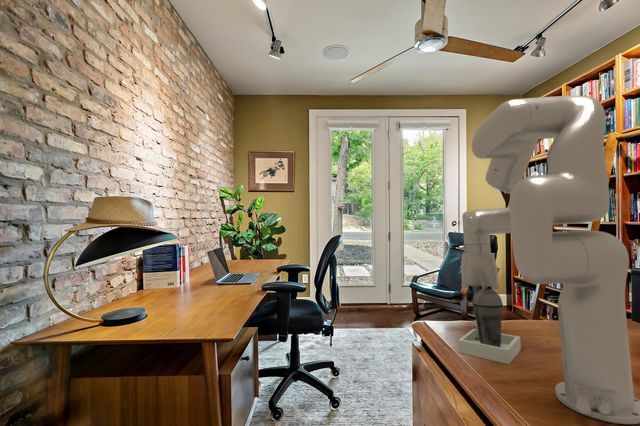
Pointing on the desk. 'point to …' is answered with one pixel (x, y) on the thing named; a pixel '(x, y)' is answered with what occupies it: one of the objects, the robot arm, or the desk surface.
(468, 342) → the tray
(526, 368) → the desk surface
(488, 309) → the beverage cup
